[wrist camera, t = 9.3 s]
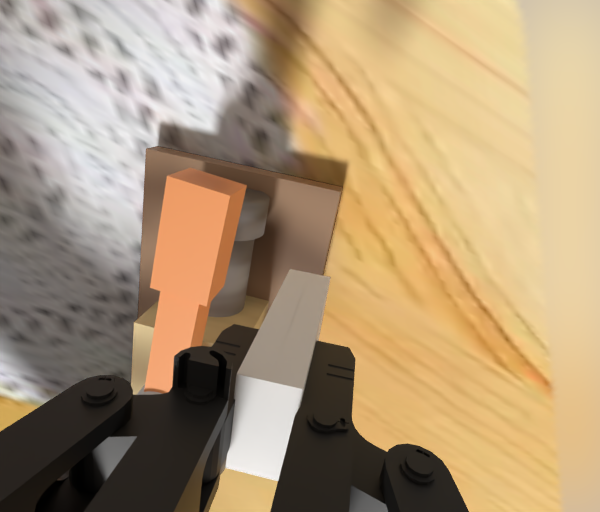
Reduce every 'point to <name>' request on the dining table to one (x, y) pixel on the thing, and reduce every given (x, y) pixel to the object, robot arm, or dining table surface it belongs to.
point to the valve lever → (189, 264)
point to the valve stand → (238, 244)
